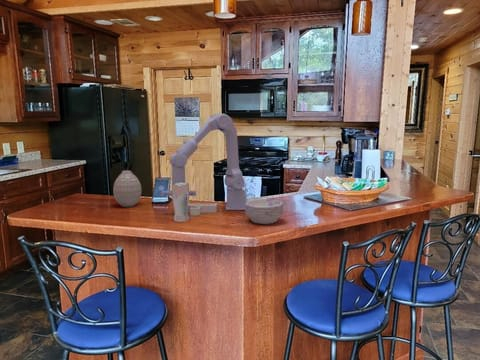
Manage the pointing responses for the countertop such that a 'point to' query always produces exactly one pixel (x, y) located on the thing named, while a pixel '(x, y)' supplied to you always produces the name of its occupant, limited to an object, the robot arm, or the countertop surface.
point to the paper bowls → (264, 210)
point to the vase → (127, 189)
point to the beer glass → (180, 201)
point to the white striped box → (204, 207)
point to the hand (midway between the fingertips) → (179, 212)
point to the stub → (195, 211)
